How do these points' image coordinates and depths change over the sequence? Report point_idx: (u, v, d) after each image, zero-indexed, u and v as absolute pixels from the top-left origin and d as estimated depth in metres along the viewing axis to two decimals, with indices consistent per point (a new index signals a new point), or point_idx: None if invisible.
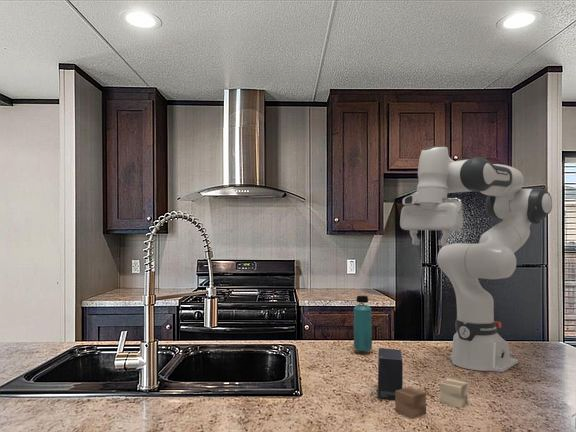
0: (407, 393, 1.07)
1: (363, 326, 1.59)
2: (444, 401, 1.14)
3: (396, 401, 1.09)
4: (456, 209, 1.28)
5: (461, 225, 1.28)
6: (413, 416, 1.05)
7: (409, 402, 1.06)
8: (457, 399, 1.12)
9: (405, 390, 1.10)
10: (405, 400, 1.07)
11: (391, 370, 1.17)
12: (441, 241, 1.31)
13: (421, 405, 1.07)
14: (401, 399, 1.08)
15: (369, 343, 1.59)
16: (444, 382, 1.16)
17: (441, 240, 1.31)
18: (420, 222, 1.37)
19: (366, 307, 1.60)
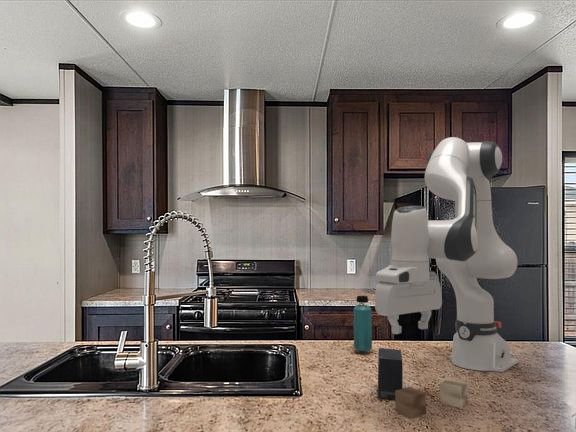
0: (407, 393, 1.07)
1: (363, 326, 1.59)
2: (444, 401, 1.14)
3: (396, 401, 1.09)
4: None
5: None
6: (413, 416, 1.05)
7: (409, 402, 1.06)
8: (457, 399, 1.12)
9: (405, 390, 1.10)
10: (405, 400, 1.07)
11: (391, 370, 1.17)
12: (426, 324, 1.11)
13: (421, 405, 1.07)
14: (401, 399, 1.08)
15: (369, 343, 1.59)
16: (444, 382, 1.16)
17: (426, 323, 1.11)
18: (410, 305, 1.07)
19: (366, 307, 1.60)
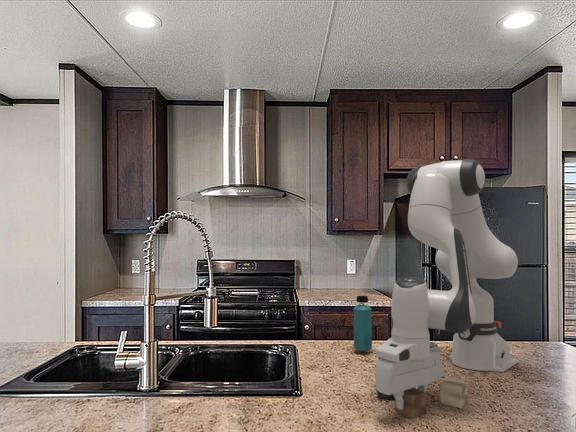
0: (407, 393, 1.07)
1: (363, 326, 1.59)
2: (444, 401, 1.14)
3: None
4: None
5: None
6: (413, 416, 1.05)
7: (409, 402, 1.06)
8: (457, 399, 1.12)
9: (405, 390, 1.10)
10: (405, 400, 1.07)
11: None
12: None
13: (421, 405, 1.07)
14: None
15: (369, 343, 1.59)
16: (444, 382, 1.15)
17: None
18: (410, 380, 1.06)
19: (366, 307, 1.60)
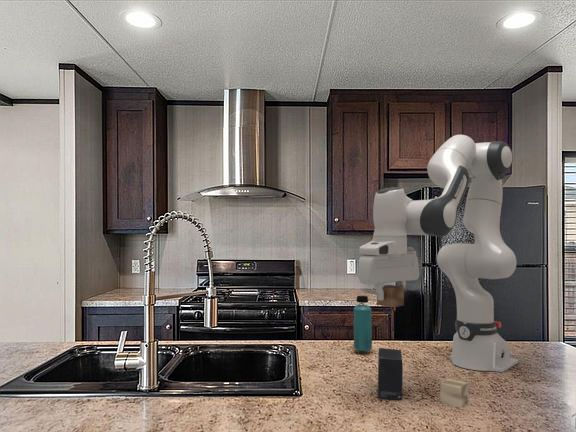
0: (387, 287, 1.21)
1: (363, 326, 1.59)
2: (444, 401, 1.14)
3: (377, 295, 1.23)
4: None
5: None
6: (392, 305, 1.19)
7: (389, 293, 1.20)
8: (457, 399, 1.12)
9: (385, 286, 1.23)
10: (385, 292, 1.21)
11: (391, 370, 1.17)
12: None
13: (399, 297, 1.21)
14: None
15: (369, 343, 1.59)
16: (444, 382, 1.15)
17: None
18: (389, 275, 1.20)
19: (366, 307, 1.60)
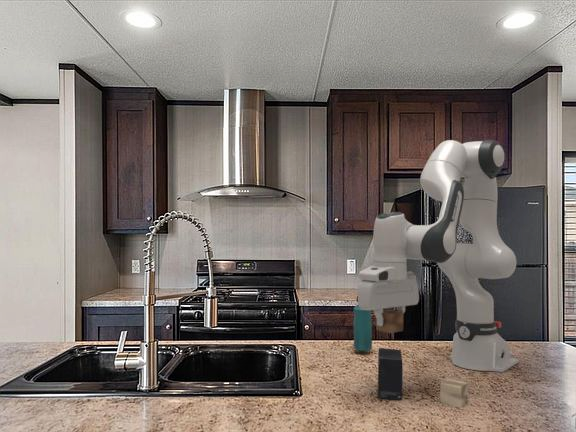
0: (387, 312, 1.21)
1: (363, 326, 1.59)
2: (444, 401, 1.14)
3: None
4: None
5: None
6: (391, 331, 1.19)
7: (388, 319, 1.20)
8: (457, 399, 1.12)
9: (385, 311, 1.23)
10: (384, 318, 1.21)
11: (391, 370, 1.17)
12: None
13: (398, 322, 1.21)
14: None
15: (369, 343, 1.59)
16: (444, 382, 1.15)
17: None
18: (389, 300, 1.20)
19: None
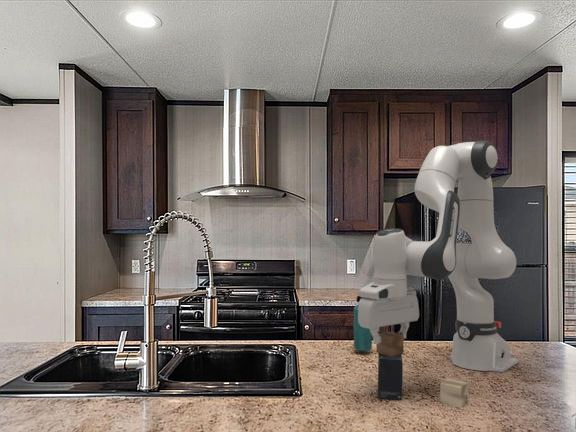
0: (387, 335, 1.21)
1: None
2: (444, 401, 1.14)
3: None
4: None
5: None
6: (391, 354, 1.19)
7: (388, 342, 1.19)
8: (457, 399, 1.12)
9: (385, 333, 1.23)
10: (385, 341, 1.20)
11: (391, 370, 1.17)
12: (405, 334, 1.25)
13: (399, 345, 1.21)
14: None
15: (369, 343, 1.59)
16: (444, 382, 1.15)
17: (405, 333, 1.24)
18: (389, 318, 1.20)
19: None
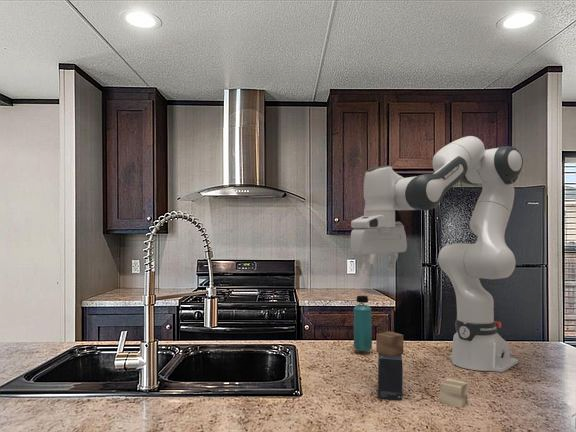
0: (387, 335, 1.21)
1: (363, 326, 1.59)
2: (444, 401, 1.14)
3: (377, 343, 1.23)
4: None
5: None
6: (391, 354, 1.19)
7: (388, 342, 1.20)
8: (457, 399, 1.12)
9: (385, 333, 1.23)
10: (385, 341, 1.21)
11: (391, 370, 1.17)
12: (394, 264, 1.35)
13: (399, 345, 1.21)
14: (381, 340, 1.22)
15: (369, 343, 1.59)
16: (444, 382, 1.15)
17: (394, 263, 1.35)
18: (379, 246, 1.30)
19: (366, 307, 1.60)
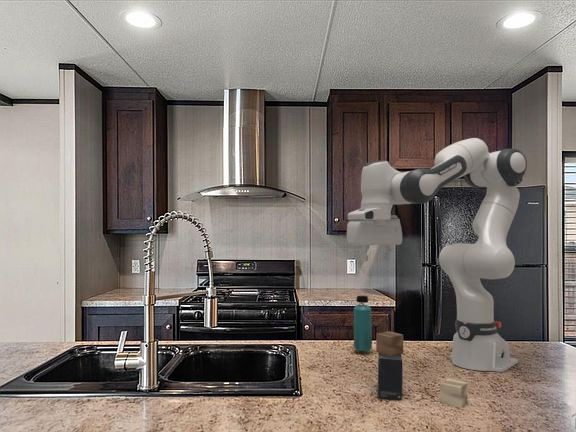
0: (387, 335, 1.21)
1: (363, 326, 1.59)
2: (444, 401, 1.14)
3: (377, 343, 1.23)
4: None
5: None
6: (391, 354, 1.19)
7: (388, 342, 1.20)
8: (457, 399, 1.12)
9: (385, 333, 1.23)
10: (384, 341, 1.21)
11: (391, 370, 1.17)
12: (389, 256, 1.39)
13: (398, 345, 1.21)
14: (381, 340, 1.22)
15: (369, 343, 1.59)
16: (444, 382, 1.15)
17: (389, 255, 1.39)
18: (375, 238, 1.34)
19: (366, 307, 1.60)
